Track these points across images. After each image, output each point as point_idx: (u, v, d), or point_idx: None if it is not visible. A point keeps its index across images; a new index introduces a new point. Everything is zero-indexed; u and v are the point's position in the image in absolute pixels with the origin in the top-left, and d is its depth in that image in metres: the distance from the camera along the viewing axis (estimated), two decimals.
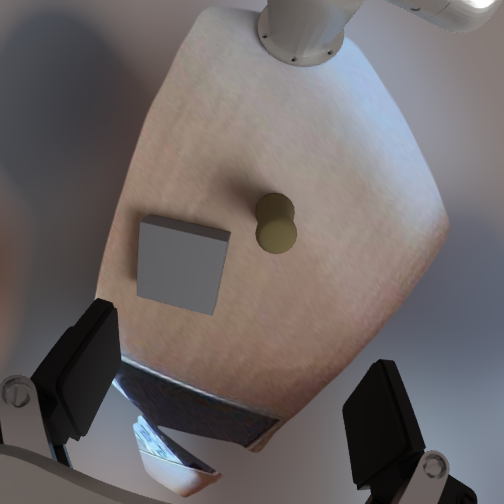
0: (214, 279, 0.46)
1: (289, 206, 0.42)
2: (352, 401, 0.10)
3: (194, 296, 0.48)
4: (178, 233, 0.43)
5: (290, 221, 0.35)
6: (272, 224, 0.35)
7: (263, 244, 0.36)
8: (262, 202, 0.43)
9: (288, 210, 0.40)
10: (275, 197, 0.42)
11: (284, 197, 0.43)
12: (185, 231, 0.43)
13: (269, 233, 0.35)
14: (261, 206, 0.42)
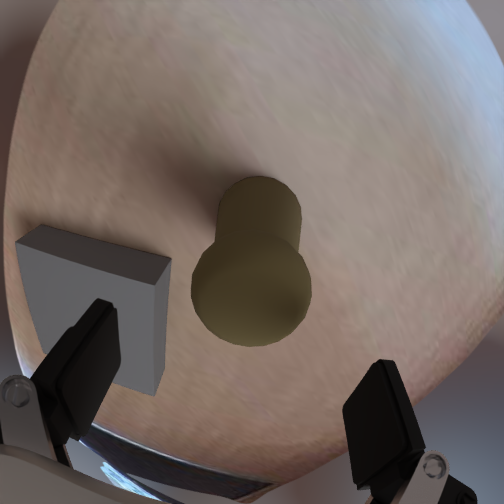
0: (143, 348, 0.22)
1: (290, 206, 0.18)
2: (352, 400, 0.10)
3: None
4: (68, 265, 0.19)
5: (293, 260, 0.11)
6: (233, 274, 0.11)
7: (211, 326, 0.12)
8: (228, 197, 0.19)
9: (288, 217, 0.16)
10: (258, 185, 0.18)
11: (279, 185, 0.19)
12: (79, 261, 0.19)
13: (225, 300, 0.11)
14: (224, 207, 0.18)
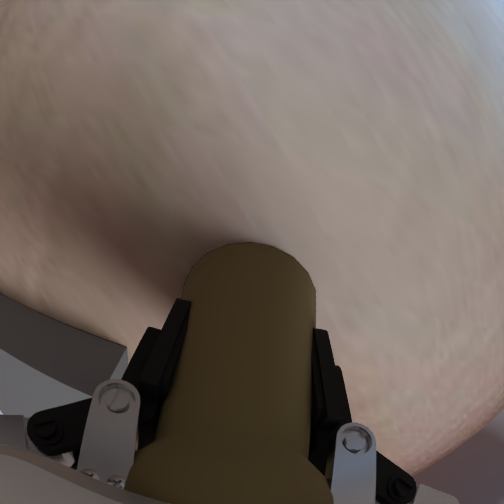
0: None
1: (301, 311, 0.10)
2: None
3: None
4: None
5: None
6: None
7: None
8: (193, 286, 0.11)
9: (297, 349, 0.08)
10: (243, 268, 0.10)
11: (282, 262, 0.11)
12: (9, 348, 0.11)
13: None
14: None
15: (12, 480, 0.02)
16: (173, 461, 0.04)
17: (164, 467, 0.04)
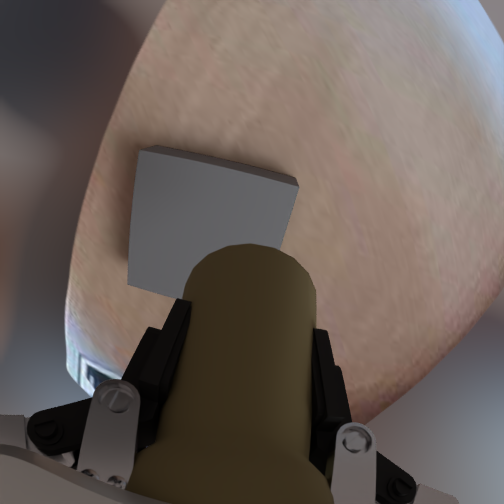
0: None
1: (302, 312, 0.10)
2: None
3: None
4: (209, 170, 0.23)
5: None
6: None
7: None
8: (194, 287, 0.11)
9: (298, 350, 0.08)
10: (244, 269, 0.10)
11: (282, 263, 0.11)
12: (221, 166, 0.23)
13: None
14: None
15: (12, 480, 0.02)
16: (175, 462, 0.04)
17: (166, 468, 0.04)
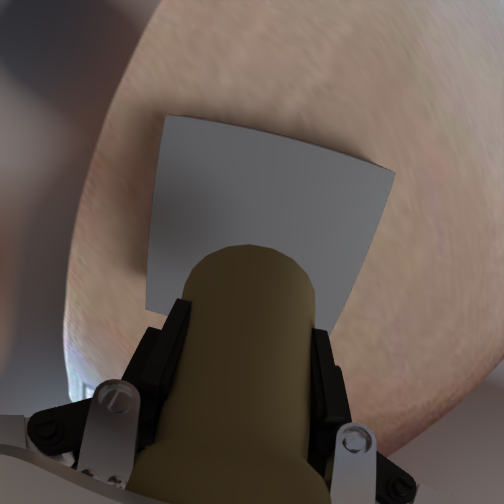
0: (348, 267, 0.18)
1: (301, 313, 0.10)
2: None
3: None
4: (274, 143, 0.16)
5: None
6: None
7: None
8: (192, 288, 0.11)
9: (297, 351, 0.08)
10: (243, 270, 0.10)
11: (281, 264, 0.11)
12: (291, 139, 0.16)
13: None
14: None
15: (12, 480, 0.02)
16: (173, 464, 0.04)
17: (164, 470, 0.04)
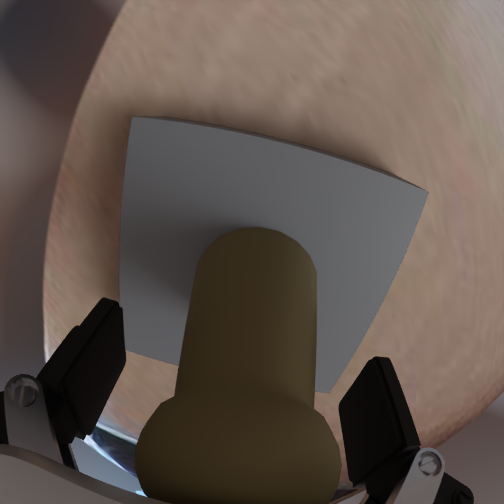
0: (364, 307, 0.15)
1: (305, 286, 0.11)
2: (348, 398, 0.10)
3: None
4: (274, 152, 0.12)
5: (317, 465, 0.04)
6: (200, 500, 0.04)
7: None
8: (207, 264, 0.12)
9: (303, 316, 0.09)
10: (254, 248, 0.12)
11: (287, 244, 0.12)
12: (297, 146, 0.12)
13: None
14: (199, 284, 0.11)
15: (12, 480, 0.02)
16: (199, 402, 0.05)
17: (191, 408, 0.05)
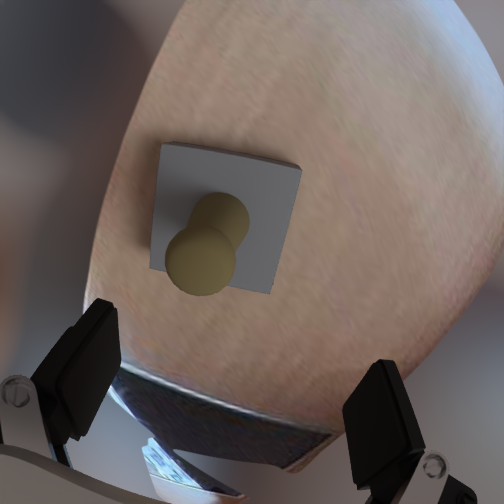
0: (277, 233, 0.30)
1: (236, 212, 0.26)
2: (352, 400, 0.10)
3: (243, 263, 0.31)
4: (224, 158, 0.27)
5: (220, 240, 0.20)
6: (185, 247, 0.19)
7: (175, 281, 0.20)
8: (195, 207, 0.27)
9: (230, 219, 0.25)
10: (215, 198, 0.27)
11: (231, 198, 0.28)
12: (235, 155, 0.27)
13: (181, 263, 0.19)
14: (192, 213, 0.26)
15: (12, 480, 0.02)
16: (188, 226, 0.21)
17: (186, 228, 0.20)
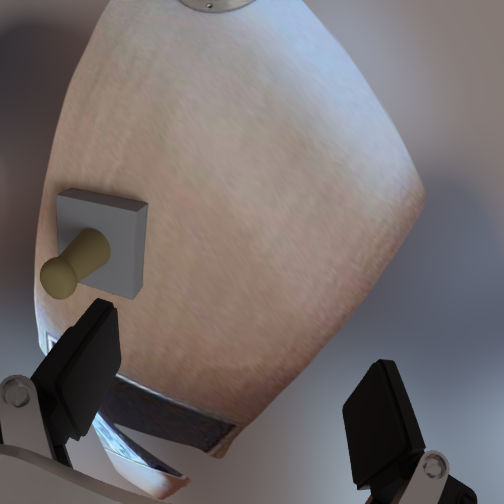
0: (128, 256, 0.38)
1: (92, 244, 0.35)
2: (352, 400, 0.10)
3: (111, 276, 0.40)
4: (90, 205, 0.35)
5: (60, 268, 0.28)
6: (44, 272, 0.27)
7: (45, 289, 0.29)
8: None
9: (84, 250, 0.33)
10: (83, 234, 0.35)
11: (94, 233, 0.36)
12: (96, 202, 0.35)
13: (44, 280, 0.28)
14: None
15: (12, 480, 0.02)
16: (51, 258, 0.29)
17: (49, 259, 0.29)
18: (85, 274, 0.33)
